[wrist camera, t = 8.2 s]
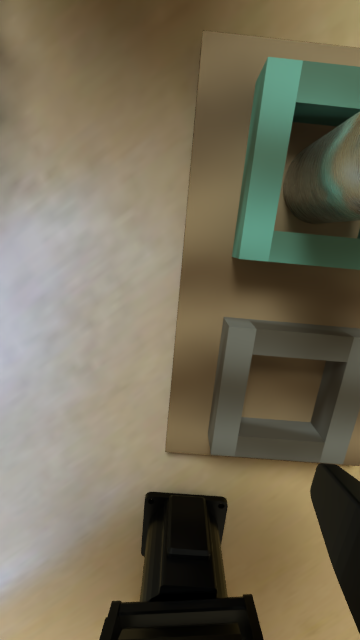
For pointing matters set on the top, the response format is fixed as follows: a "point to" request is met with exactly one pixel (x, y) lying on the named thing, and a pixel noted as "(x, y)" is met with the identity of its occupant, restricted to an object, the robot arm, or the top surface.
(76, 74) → the top surface
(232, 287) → the dock plate
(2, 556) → the top surface
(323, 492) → the robot arm
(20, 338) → the top surface
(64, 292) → the top surface
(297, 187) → the steel pin
